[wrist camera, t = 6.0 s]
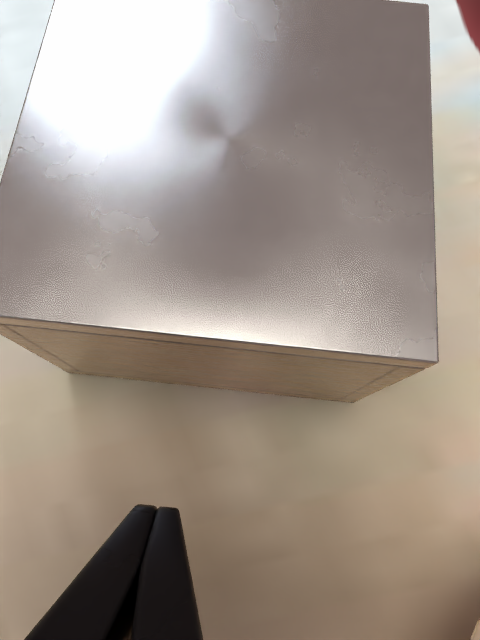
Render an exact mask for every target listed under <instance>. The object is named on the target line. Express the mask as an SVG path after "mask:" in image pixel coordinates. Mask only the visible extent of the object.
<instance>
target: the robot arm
mask: <svg viewBox="0 0 480 640" xmlns="http://www.w3.org/2000/svg"><path fill="white" fill-rule="evenodd" d="M24 640H203V636H202V630H201V625H200V620H199V614H198V609H197V604H196V598H195V593H194V588H193V582H192V577H191V572H190V566H189V561H188V556H187V550H186V545H185V540H184V534H183V529H182V524H181V518H180V513H179V510H178V509H177V508H172V507H159V508H158V509H157V507H156V506H152V505H142V504H139V505H136V506H135V507H134V508H133V509H132V510H131V511H130V513H129V514H128V515H127V516H126V517H125V519H124V520H123V521H122V522H121V523H120V525H119V526H118V527H117V528H116V529H115V531H114V532H113V533H112V534H111V536H110V537H109V538H108V539H107V540H106V542H105V543H104V544H103V545H102V546H101V548H100V549H99V550H98V551H97V552H96V554H95V555H94V556H93V557H92V558H91V560H90V561H89V562H88V563H87V564H86V566H85V567H84V568H83V569H82V570H81V572H80V573H79V574H78V575H77V576H76V578H75V579H74V580H73V581H72V583H71V584H70V585H69V586H68V587H67V589H66V590H65V591H64V592H63V593H62V595H61V596H60V597H59V598H58V599H57V601H56V602H55V603H54V604H53V605H52V607H51V608H50V609H49V610H48V611H47V613H46V614H45V615H44V616H43V617H42V619H41V620H40V621H39V622H38V623H37V625H36V626H35V627H34V628H33V630H32V631H31V632H30V633H29V634H28V636H27V637H26V638H25V639H24Z"/></svg>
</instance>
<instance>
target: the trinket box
mask: <svg viewBox="0 0 480 640" xmlns="http://www.w3.org/2000/svg"><path fill="white" fill-rule="evenodd" d="M470 640H480V618H479V620H478V622H477V624H476V626H475V629H474V631H473V634H472V636H471V639H470Z"/></svg>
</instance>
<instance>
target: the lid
mask: <svg viewBox="0 0 480 640" xmlns="http://www.w3.org/2000/svg"><path fill="white" fill-rule="evenodd" d="M0 323H2V324H11V325H21V326H30V327H40V328H49V329H59V330H68V331H78V332H87V333H97V334H106V335H116V336H125V337H135V338H144V339H154V340H163V341H173V342H182V343H192V344H201V345H211V346H220V347H230V348H239V349H249V350H258V351H268V352H277V353H287V354H296V355H306V356H315V357H325V358H334V359H344V360H353V361H363V362H372V363H382V364H391V365H401V366H410V367H419V368H429V367H431V366H433V365H435V364H437V363H438V361H439V358H438V323H437V287H436V252H435V216H434V181H433V145H432V110H431V74H430V39H429V6H428V5H427V4H418V3H409V2H399V1H389V0H54V3H53V7H52V10H51V14H50V17H49V20H48V24H47V27H46V30H45V34H44V37H43V41H42V44H41V47H40V51H39V54H38V57H37V61H36V64H35V67H34V71H33V74H32V78H31V81H30V84H29V88H28V91H27V94H26V98H25V101H24V104H23V108H22V111H21V115H20V118H19V121H18V125H17V128H16V131H15V135H14V138H13V142H12V145H11V148H10V152H9V155H8V158H7V162H6V165H5V168H4V172H3V175H2V179H1V182H0Z"/></svg>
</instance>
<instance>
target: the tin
mask: <svg viewBox="0 0 480 640" xmlns="http://www.w3.org/2000/svg"><path fill="white" fill-rule="evenodd" d="M0 334H1V335H3V336H4V337H6V338H8V339H10V340H12V341H13V342H15V343H17V344H19V345H20V346H22V347H24V348H26V349H28V350H29V351H31V352H33V353H35V354H36V355H38V356H40V357H42V358H44V359H45V360H47V361H49V362H51V363H52V364H54V365H56V366H58V367H59V368H61V369H63V370H64V371H66V372H68V373H76V374H86V375H95V376H105V377H114V378H123V379H133V380H142V381H152V382H161V383H171V384H180V385H190V386H199V387H209V388H218V389H228V390H237V391H247V392H256V393H265V394H275V395H284V396H294V397H303V398H313V399H322V400H332V401H341V402H351V403H354V402H356V401H358V400H360V399H362V398H364V397H366V396H368V395H371V394H373V393H375V392H377V391H379V390H381V389H383V388H386V387H388V386H390V385H392V384H394V383H396V382H398V381H400V380H403V379H405V378H407V377H409V376H411V375H413V374H415V373H418V372H420V371H422V370H424V369H425V368H419V367H410V366H401V365H391V364H382V363H372V362H363V361H353V360H344V359H334V358H325V357H315V356H306V355H296V354H287V353H277V352H268V351H258V350H249V349H239V348H230V347H220V346H211V345H201V344H192V343H182V342H173V341H163V340H154V339H144V338H135V337H125V336H116V335H106V334H97V333H87V332H78V331H68V330H59V329H49V328H40V327H30V326H21V325H11V324H2V323H0Z"/></svg>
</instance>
